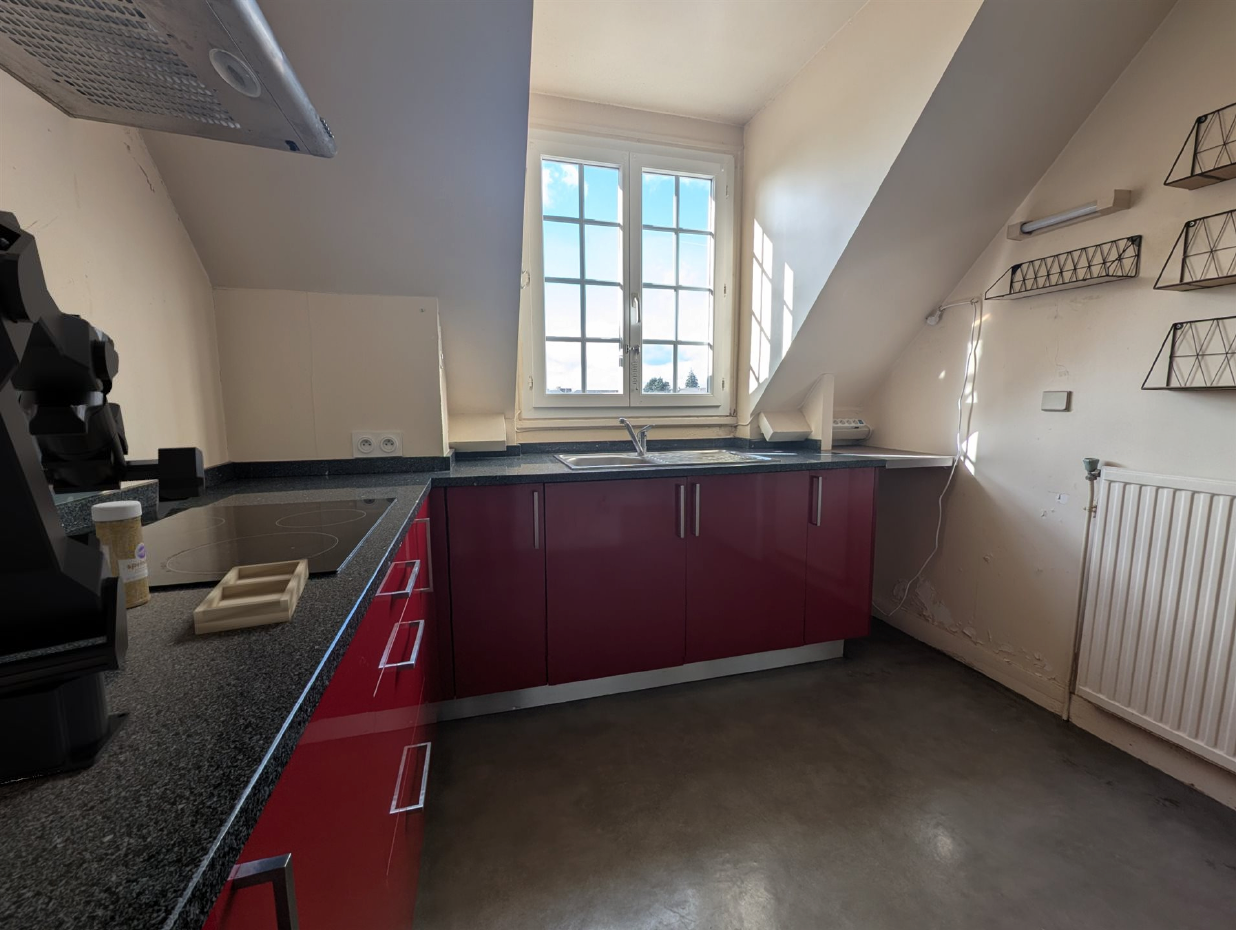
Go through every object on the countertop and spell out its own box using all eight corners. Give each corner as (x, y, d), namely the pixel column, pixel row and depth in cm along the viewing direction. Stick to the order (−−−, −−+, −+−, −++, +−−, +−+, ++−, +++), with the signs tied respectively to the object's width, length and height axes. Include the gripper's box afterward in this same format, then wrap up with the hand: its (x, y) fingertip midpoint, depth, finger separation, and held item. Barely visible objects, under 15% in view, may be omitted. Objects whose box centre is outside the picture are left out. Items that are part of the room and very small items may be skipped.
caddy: (289, 620, 62) (288, 599, 62) (195, 634, 58) (193, 611, 58) (308, 576, 78) (307, 559, 77) (235, 585, 74) (233, 566, 74)
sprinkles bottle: (147, 605, 66) (136, 503, 65) (98, 613, 64) (85, 507, 62) (154, 594, 70) (143, 498, 68) (108, 601, 68) (96, 501, 66)
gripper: (195, 378, 60) (206, 462, 70) (-58, 372, 49) (-2, 473, 59) (199, 451, 55) (210, 530, 65) (-84, 463, 44) (-17, 556, 54)
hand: (108, 520), depth 61 cm, fingers open, 9 cm apart
